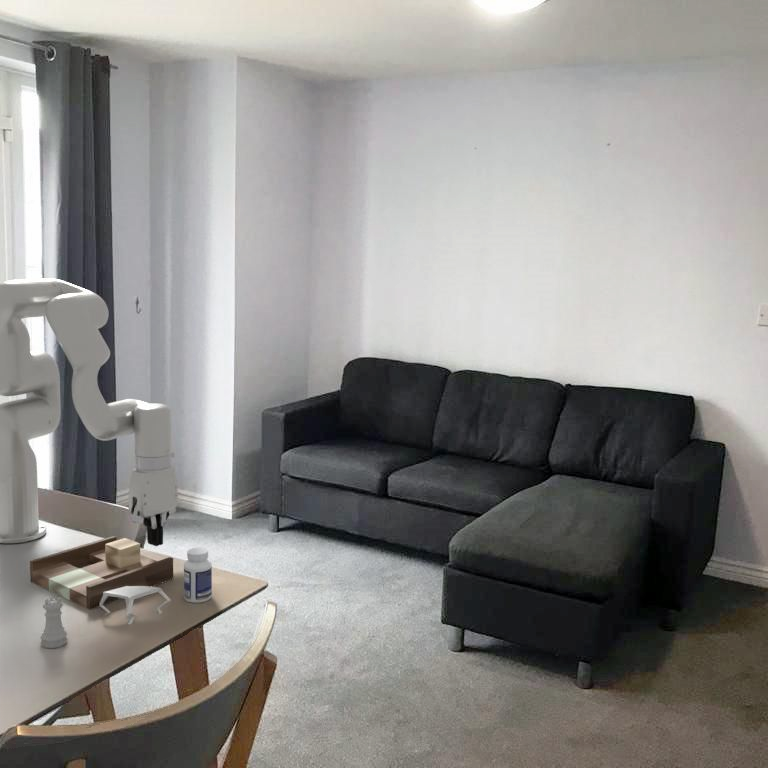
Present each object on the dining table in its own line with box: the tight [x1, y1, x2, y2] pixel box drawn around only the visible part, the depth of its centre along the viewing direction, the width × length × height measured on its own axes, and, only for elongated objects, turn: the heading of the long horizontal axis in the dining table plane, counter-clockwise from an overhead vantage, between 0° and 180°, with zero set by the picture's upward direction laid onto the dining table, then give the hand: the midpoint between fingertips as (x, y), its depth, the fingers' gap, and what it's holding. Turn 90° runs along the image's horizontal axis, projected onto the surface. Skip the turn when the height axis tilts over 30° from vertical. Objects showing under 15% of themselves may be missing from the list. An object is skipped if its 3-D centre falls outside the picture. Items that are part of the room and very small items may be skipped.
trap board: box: [29, 535, 174, 610], centre depth 177 cm, size 20×20×4 cm
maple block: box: [105, 537, 141, 568], centre depth 180 cm, size 5×5×4 cm
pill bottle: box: [183, 547, 213, 604], centre depth 169 cm, size 5×5×10 cm
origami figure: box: [99, 586, 172, 625], centre depth 161 cm, size 12×8×5 cm
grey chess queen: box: [40, 596, 69, 649], centre depth 149 cm, size 4×4×8 cm
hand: (155, 543), depth 186 cm, fingers closed
